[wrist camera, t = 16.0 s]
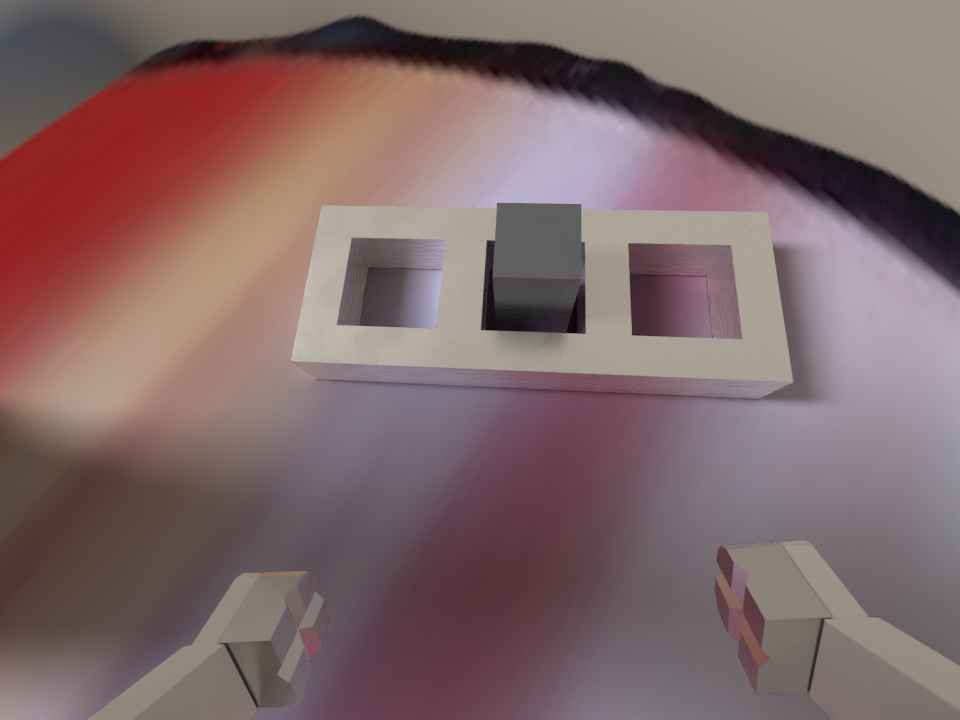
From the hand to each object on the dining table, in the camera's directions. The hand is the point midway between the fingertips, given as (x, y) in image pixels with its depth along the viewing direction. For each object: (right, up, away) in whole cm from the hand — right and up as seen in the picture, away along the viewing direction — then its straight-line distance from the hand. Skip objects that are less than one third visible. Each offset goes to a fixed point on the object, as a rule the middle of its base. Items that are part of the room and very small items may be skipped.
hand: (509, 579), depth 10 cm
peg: (+3, +7, +20) cm, 21 cm away
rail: (+3, +7, +20) cm, 21 cm away
